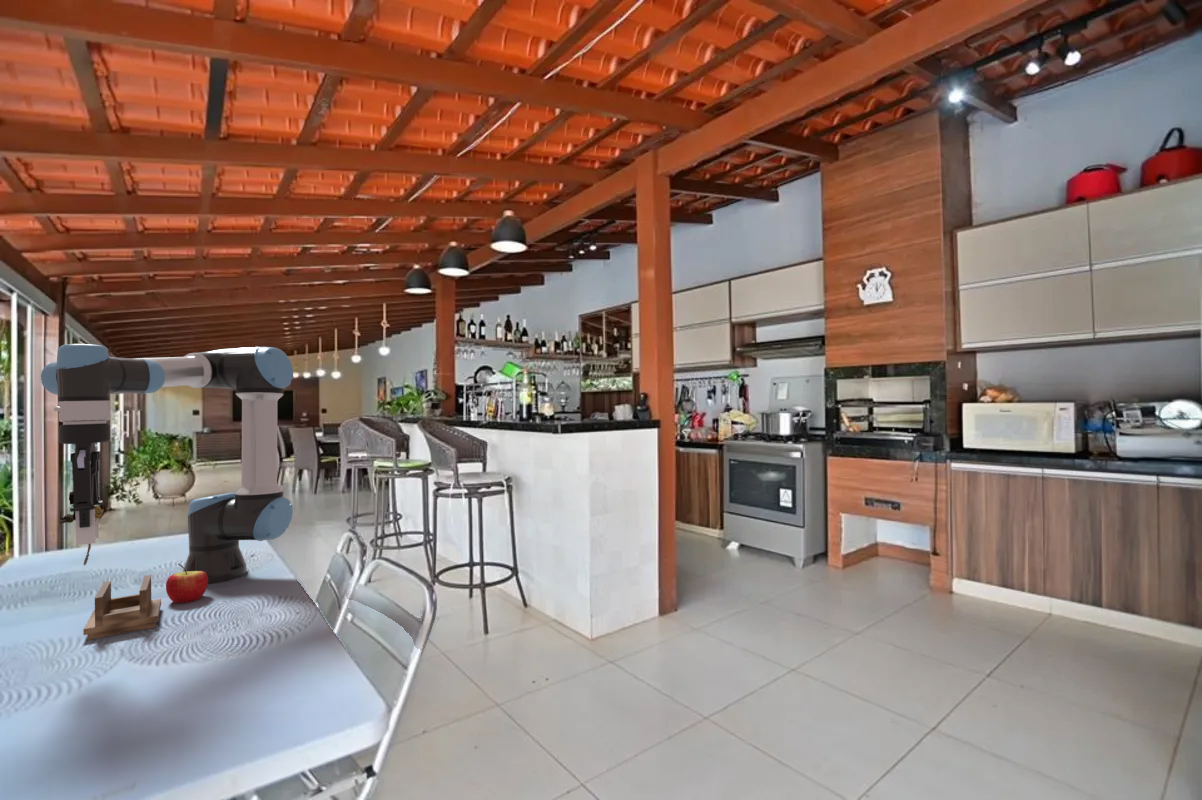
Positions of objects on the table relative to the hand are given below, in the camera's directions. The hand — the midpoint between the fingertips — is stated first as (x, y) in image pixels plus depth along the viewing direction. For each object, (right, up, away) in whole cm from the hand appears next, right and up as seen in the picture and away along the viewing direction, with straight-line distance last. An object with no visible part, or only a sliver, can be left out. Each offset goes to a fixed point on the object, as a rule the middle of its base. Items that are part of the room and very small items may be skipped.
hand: (87, 541), depth 111 cm
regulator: (0, -5, -1) cm, 5 cm away
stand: (-4, -22, +14) cm, 27 cm away
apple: (-2, -23, +29) cm, 37 cm away
